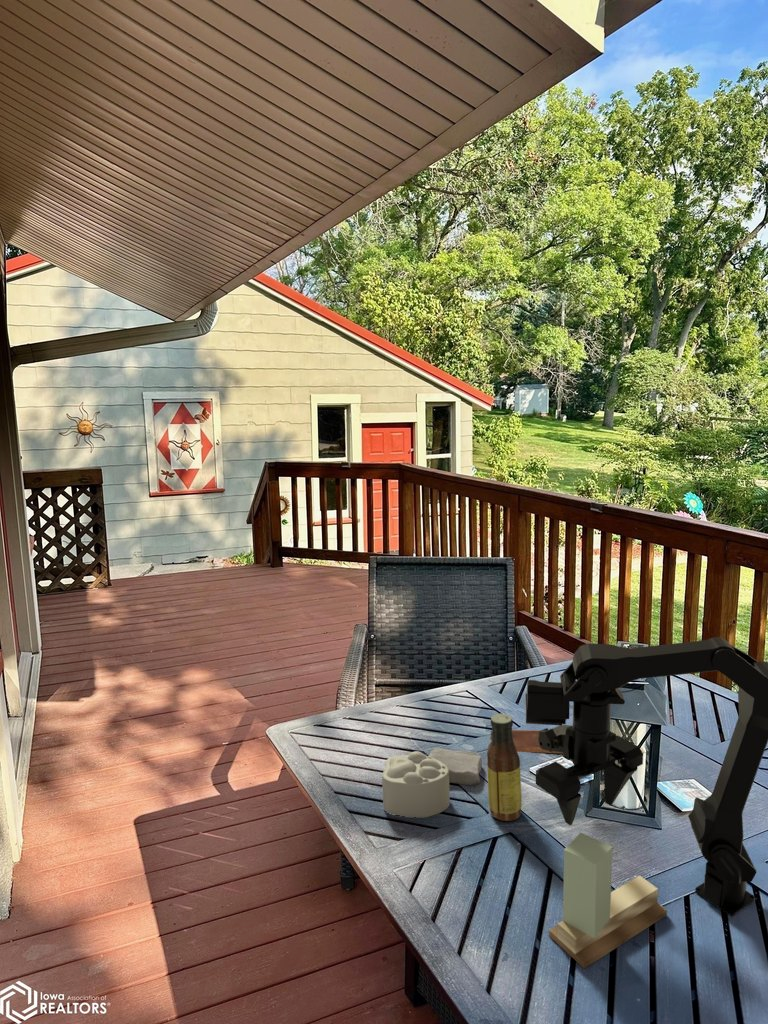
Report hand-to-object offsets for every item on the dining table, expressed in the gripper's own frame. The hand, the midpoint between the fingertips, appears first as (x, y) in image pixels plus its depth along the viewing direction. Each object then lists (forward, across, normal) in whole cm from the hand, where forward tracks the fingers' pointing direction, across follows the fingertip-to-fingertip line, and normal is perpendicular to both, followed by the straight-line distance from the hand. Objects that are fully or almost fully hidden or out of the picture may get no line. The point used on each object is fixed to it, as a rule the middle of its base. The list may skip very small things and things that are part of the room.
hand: (589, 813), depth 112 cm
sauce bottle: (+13, -1, -22) cm, 26 cm away
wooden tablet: (+14, -26, -36) cm, 47 cm away
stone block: (+14, -2, -39) cm, 41 cm away
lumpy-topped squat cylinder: (+13, +11, -35) cm, 39 cm away
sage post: (+10, +9, +8) cm, 15 cm away
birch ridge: (+13, +4, +8) cm, 16 cm away
